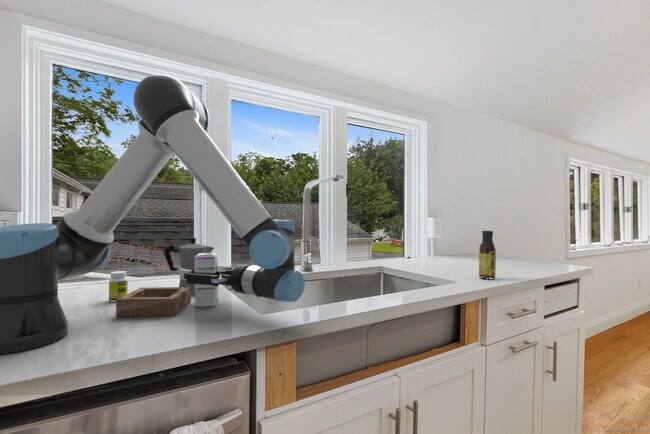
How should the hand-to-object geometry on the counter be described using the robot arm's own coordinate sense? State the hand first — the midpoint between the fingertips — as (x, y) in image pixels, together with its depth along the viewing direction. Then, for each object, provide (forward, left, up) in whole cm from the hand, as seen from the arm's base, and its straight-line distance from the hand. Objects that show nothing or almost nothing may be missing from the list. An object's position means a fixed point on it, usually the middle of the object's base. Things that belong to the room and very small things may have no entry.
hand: (197, 271), depth 102 cm
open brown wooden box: (-8, +9, -9) cm, 15 cm away
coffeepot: (+12, +6, -9) cm, 16 cm away
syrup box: (-3, -3, -9) cm, 10 cm away
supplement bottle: (+3, +24, -9) cm, 26 cm away
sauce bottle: (+31, -108, -9) cm, 113 cm away
